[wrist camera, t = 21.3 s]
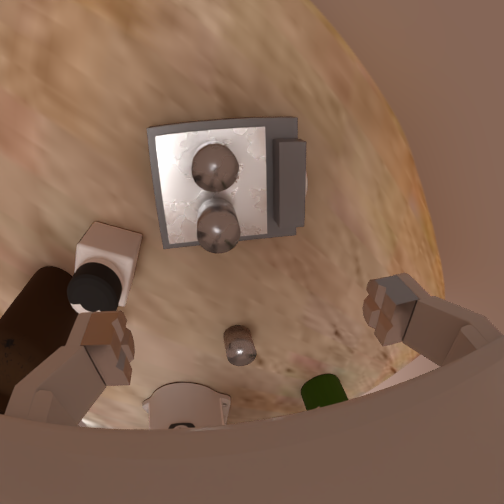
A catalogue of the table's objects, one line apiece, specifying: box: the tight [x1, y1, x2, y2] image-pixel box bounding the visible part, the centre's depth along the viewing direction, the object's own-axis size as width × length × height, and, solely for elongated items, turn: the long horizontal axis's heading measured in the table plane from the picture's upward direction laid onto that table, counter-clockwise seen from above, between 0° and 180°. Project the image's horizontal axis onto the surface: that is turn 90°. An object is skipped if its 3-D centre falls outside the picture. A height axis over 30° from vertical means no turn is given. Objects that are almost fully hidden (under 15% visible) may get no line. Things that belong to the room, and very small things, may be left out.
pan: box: [155, 126, 267, 244], centre depth 34 cm, size 13×12×1 cm
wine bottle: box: [301, 374, 348, 411], centre depth 46 cm, size 9×9×33 cm
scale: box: [147, 117, 307, 249], centre depth 34 cm, size 15×18×6 cm
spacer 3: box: [224, 325, 256, 366], centre depth 46 cm, size 4×4×5 cm
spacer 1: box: [191, 141, 239, 192], centre depth 30 cm, size 4×4×5 cm
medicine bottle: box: [67, 222, 142, 314], centre depth 33 cm, size 7×7×12 cm
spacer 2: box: [197, 198, 241, 253], centre depth 33 cm, size 4×4×5 cm
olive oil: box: [0, 267, 79, 415], centre depth 28 cm, size 11×11×25 cm
